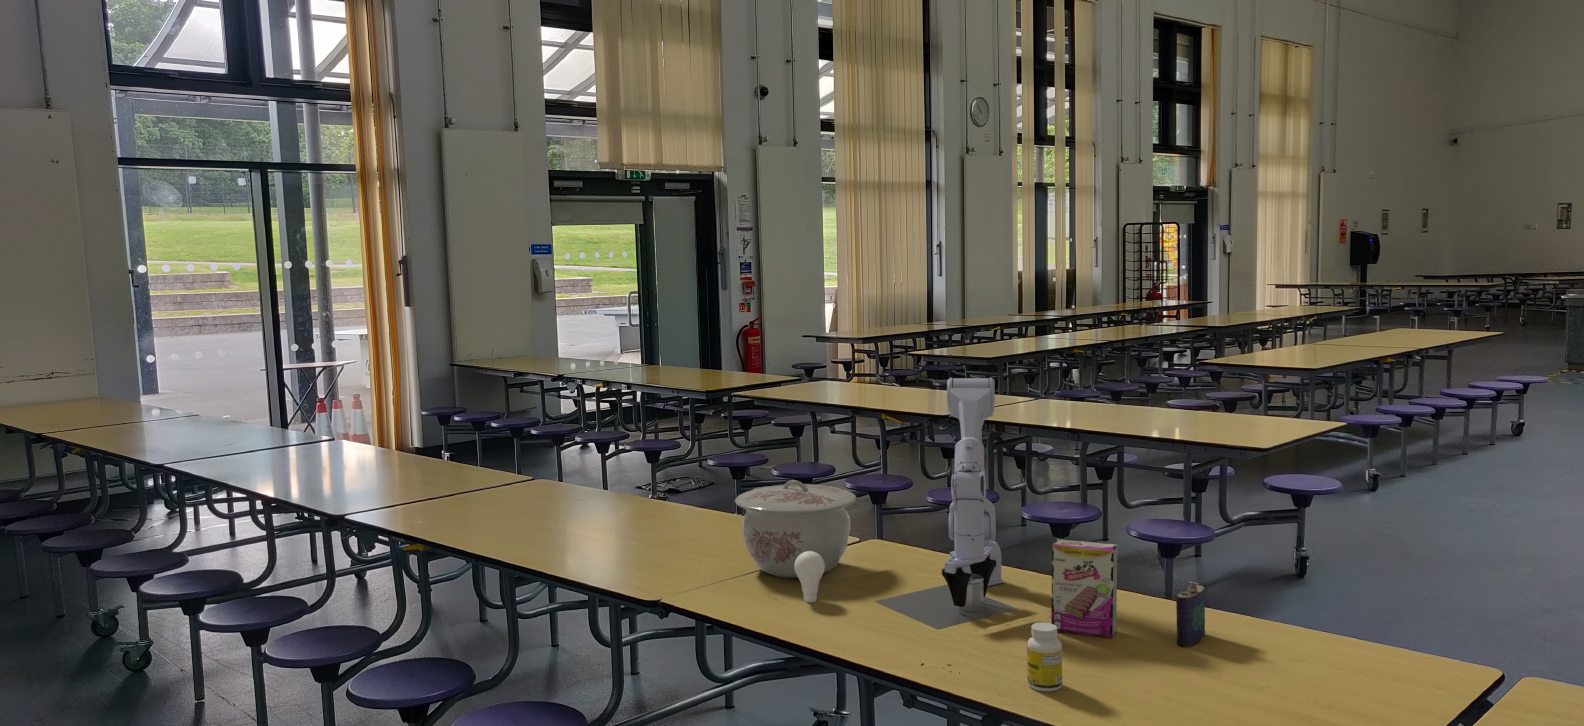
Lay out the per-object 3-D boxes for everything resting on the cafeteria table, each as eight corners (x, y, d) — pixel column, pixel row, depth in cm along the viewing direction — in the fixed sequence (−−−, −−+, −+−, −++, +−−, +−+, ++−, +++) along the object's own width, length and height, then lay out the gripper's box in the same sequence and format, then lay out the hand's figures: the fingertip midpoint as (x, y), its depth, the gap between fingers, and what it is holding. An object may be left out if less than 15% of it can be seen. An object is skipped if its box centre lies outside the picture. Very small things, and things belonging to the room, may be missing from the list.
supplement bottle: (1023, 680, 167) (1022, 621, 166) (1055, 678, 167) (1055, 619, 166) (1033, 693, 161) (1033, 633, 160) (1067, 691, 162) (1067, 631, 161)
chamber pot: (861, 586, 218) (859, 491, 217) (732, 589, 219) (729, 494, 217) (854, 551, 246) (853, 466, 245) (740, 554, 247) (738, 469, 245)
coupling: (964, 601, 204) (964, 571, 204) (988, 606, 201) (988, 576, 200) (950, 608, 200) (950, 578, 200) (974, 613, 197) (974, 583, 196)
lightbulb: (826, 600, 210) (825, 547, 209) (824, 609, 204) (823, 555, 203) (796, 599, 211) (795, 547, 210) (793, 609, 205) (792, 555, 204)
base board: (951, 588, 216) (950, 583, 216) (1018, 613, 199) (1018, 608, 199) (873, 605, 206) (873, 601, 206) (937, 634, 189) (937, 629, 188)
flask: (1193, 631, 187) (1194, 574, 186) (1209, 634, 185) (1210, 576, 184) (1173, 645, 180) (1173, 586, 179) (1190, 649, 178) (1190, 589, 177)
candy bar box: (1050, 631, 189) (1050, 544, 187) (1055, 623, 193) (1055, 537, 192) (1113, 639, 184) (1114, 549, 182) (1117, 630, 188) (1117, 543, 187)
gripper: (971, 522, 207) (971, 587, 208) (930, 537, 196) (931, 606, 197) (1002, 527, 202) (1002, 594, 204) (962, 542, 192) (963, 613, 193)
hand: (969, 600), depth 200 cm, fingers open, 7 cm apart
